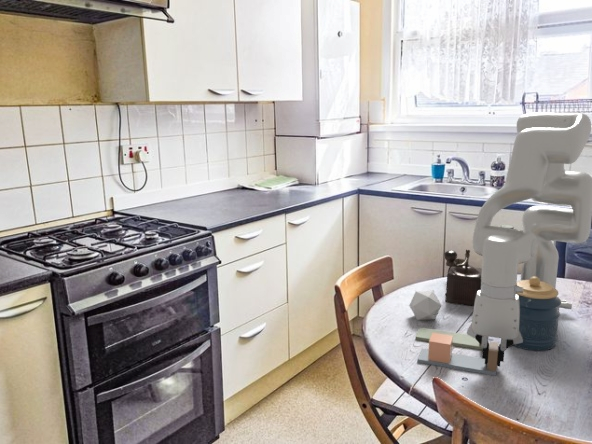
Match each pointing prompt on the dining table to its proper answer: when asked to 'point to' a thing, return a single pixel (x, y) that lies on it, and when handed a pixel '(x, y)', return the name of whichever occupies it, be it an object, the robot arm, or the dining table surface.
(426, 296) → the die
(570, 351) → the dining table surface
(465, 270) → the manual coffee grinder
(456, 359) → the cargo strip
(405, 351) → the dining table surface
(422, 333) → the empty strip
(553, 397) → the dining table surface
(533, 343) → the canister
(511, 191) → the robot arm
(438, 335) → the terracotta block
